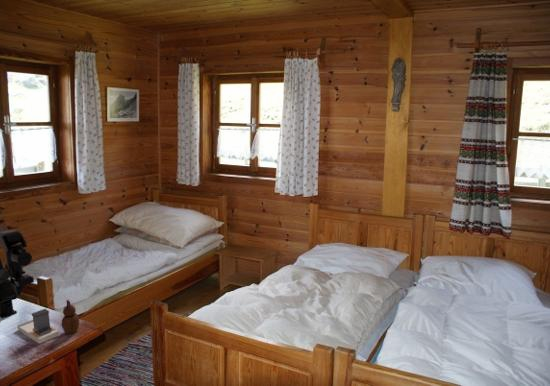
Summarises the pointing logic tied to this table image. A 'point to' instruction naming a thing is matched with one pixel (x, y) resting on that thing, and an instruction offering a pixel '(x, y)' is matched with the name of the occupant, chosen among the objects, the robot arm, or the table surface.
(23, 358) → the table surface
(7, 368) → the table surface
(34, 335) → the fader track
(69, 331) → the wooden figurine
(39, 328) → the fader knob
